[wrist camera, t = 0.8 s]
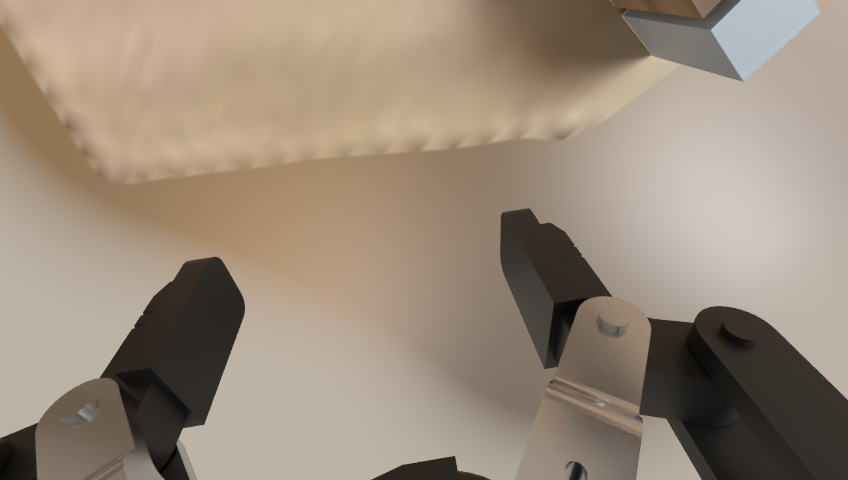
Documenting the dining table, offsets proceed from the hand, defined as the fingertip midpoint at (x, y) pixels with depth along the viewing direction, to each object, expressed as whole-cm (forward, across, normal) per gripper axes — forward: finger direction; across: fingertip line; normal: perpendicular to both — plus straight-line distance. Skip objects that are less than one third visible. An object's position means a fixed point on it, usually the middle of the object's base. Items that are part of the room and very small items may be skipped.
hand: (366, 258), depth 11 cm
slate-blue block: (+25, -25, -1) cm, 36 cm away
